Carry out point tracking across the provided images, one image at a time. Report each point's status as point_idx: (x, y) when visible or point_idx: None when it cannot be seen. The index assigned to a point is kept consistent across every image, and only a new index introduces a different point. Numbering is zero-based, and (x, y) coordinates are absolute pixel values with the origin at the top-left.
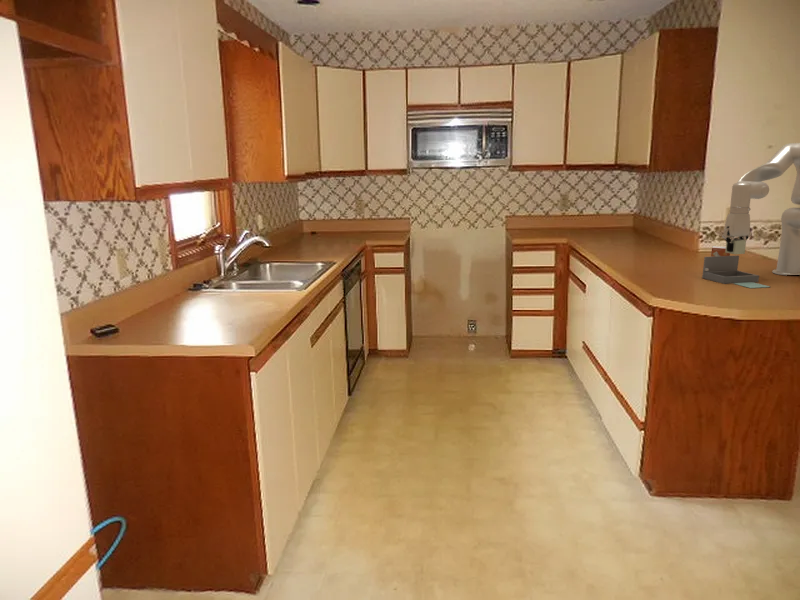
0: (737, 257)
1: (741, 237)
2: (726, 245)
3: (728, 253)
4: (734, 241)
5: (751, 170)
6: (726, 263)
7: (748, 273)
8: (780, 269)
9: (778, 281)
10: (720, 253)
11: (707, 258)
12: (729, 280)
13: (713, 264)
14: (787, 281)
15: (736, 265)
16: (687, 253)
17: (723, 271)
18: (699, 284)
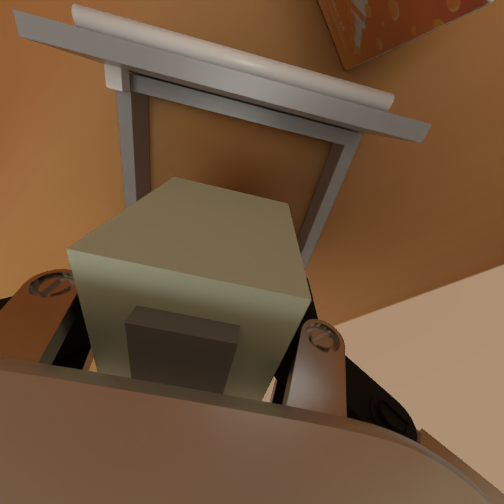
0: (397, 137)
1: (318, 399)
2: (137, 210)
3: (432, 9)
4: (106, 370)
5: None
6: (285, 110)
7: (314, 224)
8: None
9: (375, 277)
10: None
11: (58, 46)
12: None
13: (165, 78)
14: (401, 288)
15: (366, 132)
16: None
17: (251, 119)
18: (27, 186)
